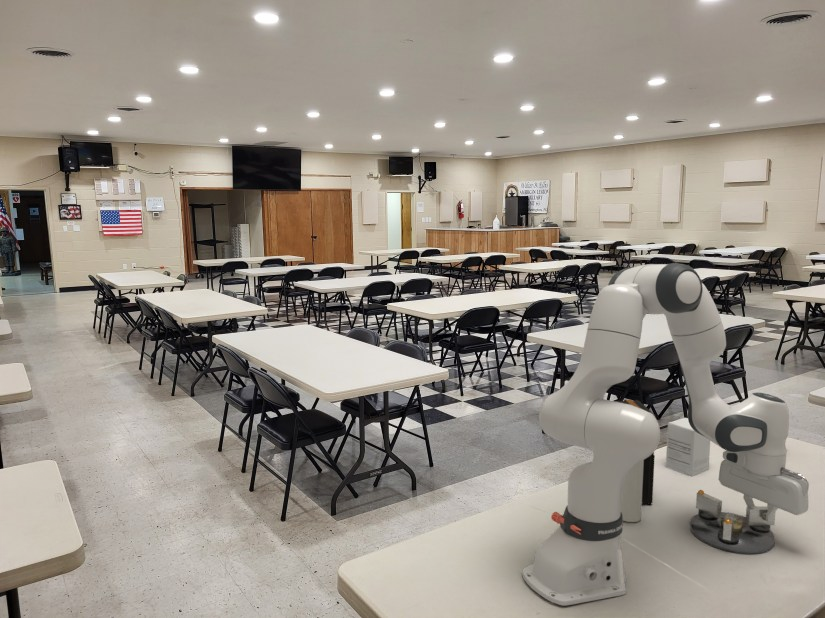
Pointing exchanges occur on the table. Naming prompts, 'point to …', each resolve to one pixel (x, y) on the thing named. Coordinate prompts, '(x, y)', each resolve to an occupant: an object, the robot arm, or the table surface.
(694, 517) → the plate
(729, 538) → the knob near
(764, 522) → the grey lever knob
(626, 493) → the paper towel roll
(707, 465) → the supplement box
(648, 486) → the voltmeter
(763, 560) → the table surface
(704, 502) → the knob left
